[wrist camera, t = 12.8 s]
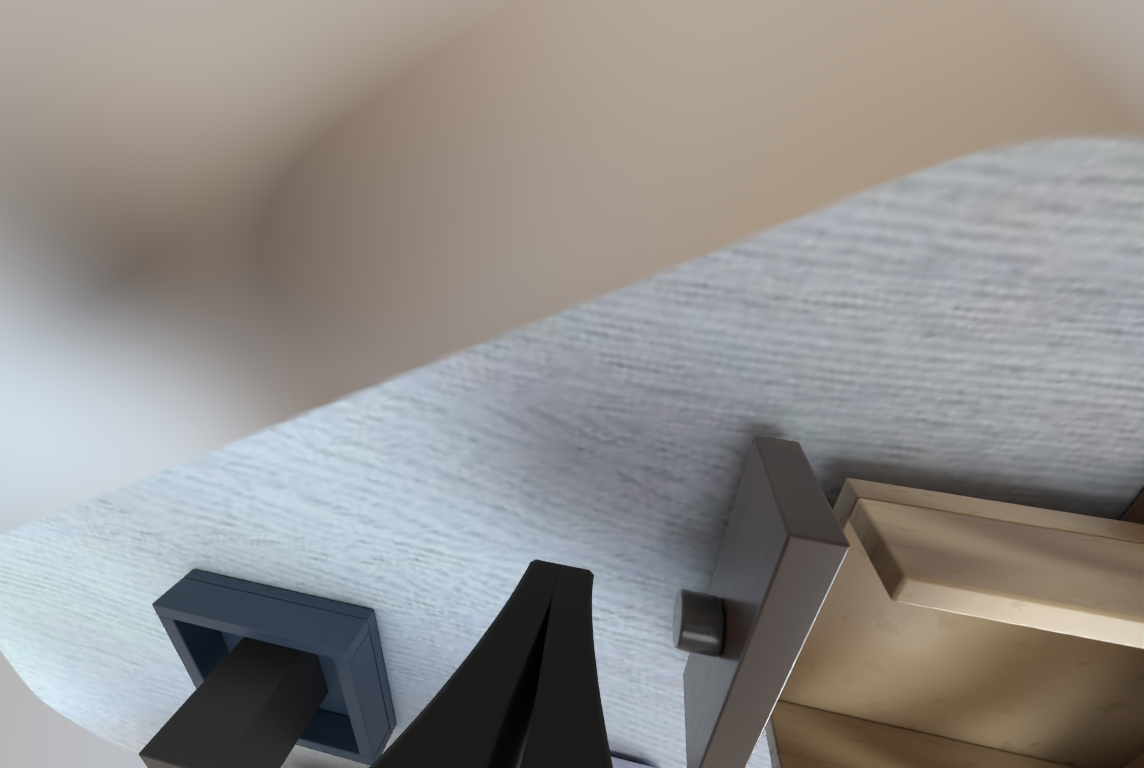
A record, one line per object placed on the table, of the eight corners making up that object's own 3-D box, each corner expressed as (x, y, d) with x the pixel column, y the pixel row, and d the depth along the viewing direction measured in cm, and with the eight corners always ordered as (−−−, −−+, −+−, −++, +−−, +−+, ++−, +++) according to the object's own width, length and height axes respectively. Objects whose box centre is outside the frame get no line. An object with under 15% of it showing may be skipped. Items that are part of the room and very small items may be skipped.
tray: (396, 724, 25) (375, 767, 23) (244, 684, 26) (213, 722, 24) (373, 609, 20) (346, 651, 19) (192, 568, 22) (151, 604, 20)
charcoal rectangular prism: (329, 692, 23) (241, 829, 19) (275, 678, 24) (175, 809, 19) (312, 638, 21) (209, 775, 17) (254, 624, 22) (137, 753, 17)
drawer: (651, 666, 17) (648, 787, 14) (708, 427, 12) (725, 524, 9) (1082, 763, 15) (1202, 932, 12) (1352, 523, 10) (1684, 693, 7)
